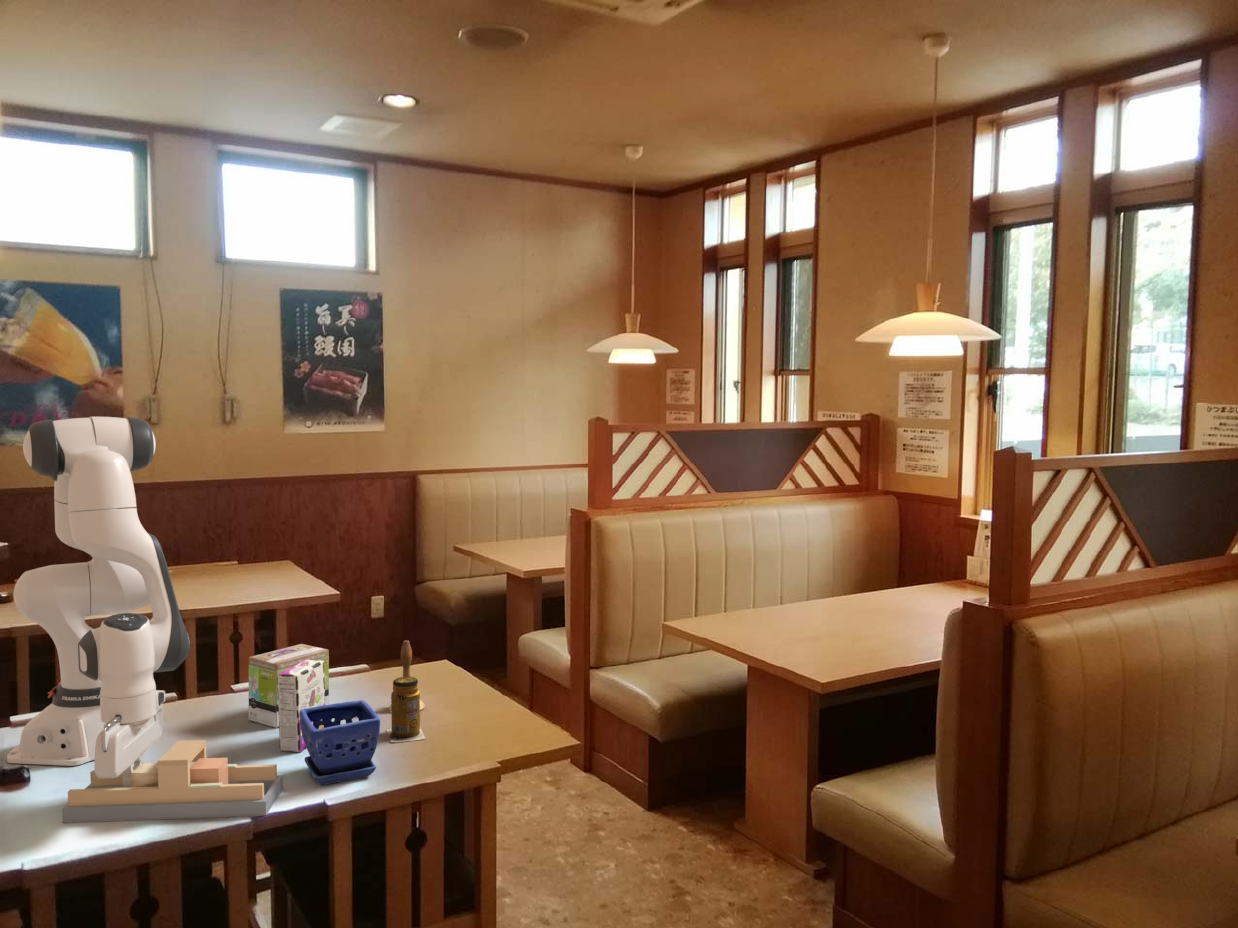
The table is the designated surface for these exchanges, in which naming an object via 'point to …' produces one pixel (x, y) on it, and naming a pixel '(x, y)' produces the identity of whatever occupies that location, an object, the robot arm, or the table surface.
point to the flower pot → (340, 741)
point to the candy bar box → (298, 700)
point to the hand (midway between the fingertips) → (131, 782)
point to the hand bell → (407, 664)
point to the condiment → (405, 711)
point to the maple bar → (146, 775)
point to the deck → (177, 792)
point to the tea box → (265, 679)
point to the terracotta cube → (209, 771)
